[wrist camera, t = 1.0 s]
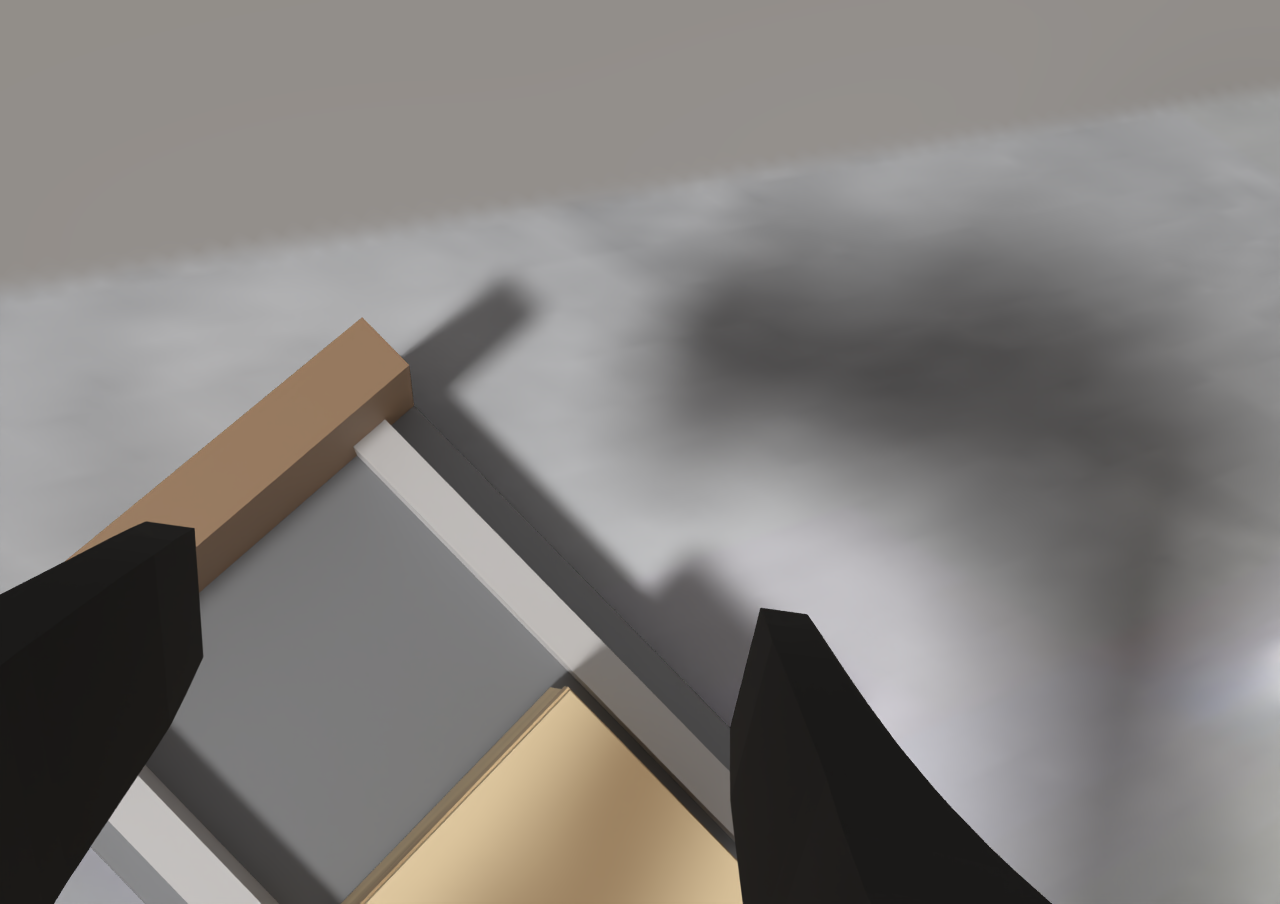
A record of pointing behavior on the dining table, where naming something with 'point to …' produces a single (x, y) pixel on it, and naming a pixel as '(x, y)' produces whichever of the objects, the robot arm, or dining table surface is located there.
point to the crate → (556, 827)
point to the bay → (367, 647)
